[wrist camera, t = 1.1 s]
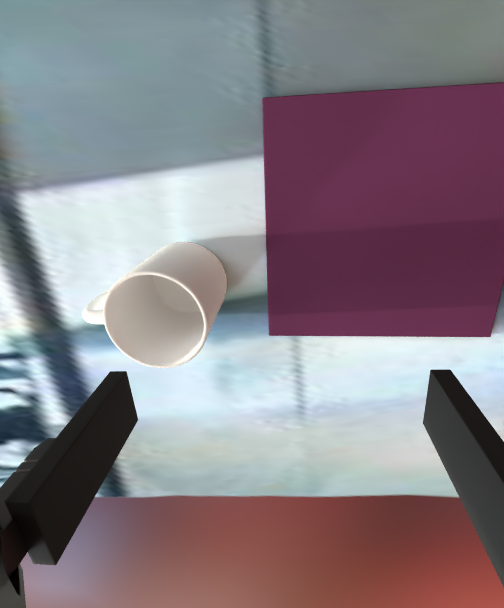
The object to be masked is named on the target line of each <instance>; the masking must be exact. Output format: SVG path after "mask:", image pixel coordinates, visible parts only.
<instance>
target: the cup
mask: <svg viewBox="0 0 504 608" xmlns="http://www.w3.org/2000/svg"><path fill="white" fill-rule="evenodd" d="M226 290H227V278H226V274H225V270H224V268H223V266H222V264H221V262H220V261H219V260H218V258H217V257H216V256H215V255H214V254H213V253H212V252H211V251H209V250H208V249H206V248H205V247H203V246H201V245H198V244H195V243H190V242H177V243H172V244H169V245H167V246H165V247H163V248H161V249H160V250H158V251H157V252H155V253H154V254H153V255H151V256H150V257H149V258H147V259H146V260H145V261H143V262H142V263H141V264H139V265H138V266H137V267H135V268H134V269H133V270H131V271H130V272H128V273H127V274H126V275H124V276H123V277H122V278H120V279H119V280H118V281H117V282H115V283H114V285H113V286H112V287H111V288H110V289H109V291H107V292H105V293H103V294H101V295H100V296H98V297H96V298H95V299H94V300H92V301H91V302H90V303H89V304H88V305H87V306H86V307H85V309H84V311H83V318H84V319H85V320H86V321H87V322H88V323H92V324H105V327H106V330H107V332H108V335H109V336H110V338H111V340H112V341H113V343H114V344H115V345H116V346H117V347H118V348H119V350H120V351H122V352H123V353H124V354H125V355H126V356H128V357H129V358H131V359H132V360H134V361H136V362H138V363H141V364H143V365H146V366H150V367H156V368H170V367H175V366H179V365H182V364H184V363H186V362H188V361H190V360H191V359H192V358H194V357H195V356H196V355H197V354H198V353H199V351H200V350H201V349H202V347H203V345H204V343H205V341H206V339H207V336H208V334H209V332H210V330H211V327H212V325H213V323H214V321H215V319H216V316H217V314H218V312H219V310H220V307H221V305H222V303H223V301H224V298H225V295H226ZM102 307H103V309H101V308H102Z"/></svg>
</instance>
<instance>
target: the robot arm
mask: <svg viewBox="0 0 504 608" xmlns="http://www.w3.org/2000/svg"><path fill="white" fill-rule="evenodd" d="M137 421H138V418H137V414H136V409H135V405H134V401H133V397H132V393H131V388H130V384H129V380H128V376H127V372H126V371H116V372H110V373H109V374H108V375H107V376H106V378H105V379H104V380H103V381H102V382H101V384H100V385H99V386H98V387H97V389H96V390H95V391H94V392H93V393H92V395H91V396H90V397H89V398H88V400H87V401H86V402H85V403H84V405H83V406H82V407H81V408H80V409H79V411H78V412H77V413H76V414H75V416H74V417H73V418H72V419H71V420H70V422H69V423H68V424H67V425H66V427H65V428H64V429H63V430H62V431H61V433H60V434H59V435H58V436H57V438H48V439H46V440H45V441H44V442H42V443H41V444H40V445H38V446H37V447H35V448H34V449H33V450H32V452H31V453H30V454H29V455H28V456H27V457H26V459H25V460H24V462H22V463H21V464H20V466H19V467H18V468H17V469H16V472H14V473H13V474H12V475H11V476H10V477H9V478H8V480H7V481H6V482H5V483H4V484H3V485H2V487H1V488H0V608H26V604H25V593H24V581H23V570H22V568H21V566H20V562H21V561H22V559H23V558H24V556H25V555H26V553H27V552H28V553H29V556H30V558H31V560H32V562H33V564H46V565H56V564H57V562H58V561H59V559H60V557H61V555H62V554H63V552H64V550H65V548H66V546H67V545H68V543H69V541H70V539H71V537H72V536H73V534H74V532H75V531H76V528H77V527H78V525H79V523H80V522H81V520H82V518H83V516H84V515H85V513H86V511H87V509H88V507H89V506H90V504H91V502H92V500H93V499H94V497H95V495H96V493H97V492H98V490H99V488H100V486H101V485H102V483H103V481H104V479H105V478H106V476H107V474H108V472H109V470H110V469H111V467H112V465H113V463H114V462H115V460H116V458H117V456H118V455H119V453H120V451H121V449H122V447H123V446H124V444H125V442H126V440H127V439H128V437H129V435H130V433H131V432H132V430H133V428H134V426H135V424H136V423H137ZM423 424H424V426H425V428H426V430H427V432H428V434H429V436H430V438H431V440H432V442H433V444H434V446H435V448H436V450H437V453H438V455H439V457H440V459H441V461H442V463H443V465H444V467H445V469H446V471H447V473H448V475H449V477H450V479H451V481H452V483H453V485H454V487H455V489H456V491H457V493H458V495H459V497H460V499H461V501H462V503H463V505H464V507H465V509H466V511H467V513H468V515H469V517H470V520H471V522H472V523H473V526H474V528H475V530H476V532H477V533H478V536H479V538H480V540H481V542H482V544H483V546H484V548H485V550H486V552H487V554H488V556H489V558H490V560H491V562H492V564H493V566H494V568H495V570H496V572H497V574H498V576H499V578H500V580H501V582H502V584H503V586H504V442H503V440H502V439H501V438H500V436H499V435H498V434H497V432H496V431H495V430H494V428H493V427H492V425H491V424H490V423H489V421H488V420H487V419H486V417H485V416H484V415H483V413H482V412H481V411H480V409H479V408H478V407H477V405H476V404H475V402H474V401H473V400H472V398H471V397H470V396H469V394H468V393H467V392H466V390H465V389H464V388H463V386H462V385H461V384H460V382H459V381H458V379H457V378H456V377H455V375H454V374H453V373H452V371H451V370H431V371H430V378H429V385H428V392H427V399H426V406H425V413H424V420H423Z"/></svg>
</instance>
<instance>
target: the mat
mask: <svg viewBox="0 0 504 608" xmlns="http://www.w3.org/2000/svg"><path fill="white" fill-rule="evenodd" d="M262 104H263V139H264V175H265V210H266V246H267V281H268V317H269V335H270V336H416V337H491V332H492V328H493V324H494V320H495V316H496V312H497V307H498V303H499V299H500V295H501V291H502V286H503V282H504V83H488V84H472V85H457V86H441V87H425V88H409V89H393V90H378V91H362V92H346V93H330V94H315V95H299V96H283V97H267V98H262Z"/></svg>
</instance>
